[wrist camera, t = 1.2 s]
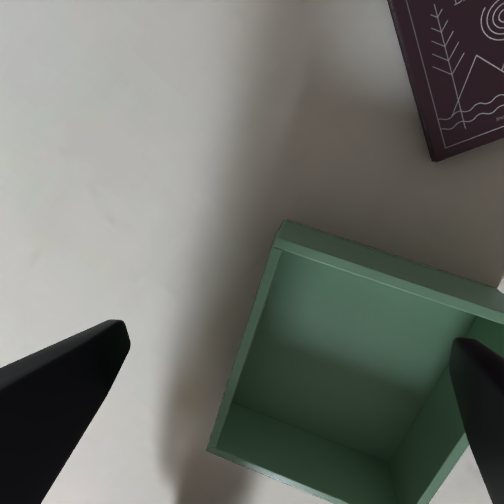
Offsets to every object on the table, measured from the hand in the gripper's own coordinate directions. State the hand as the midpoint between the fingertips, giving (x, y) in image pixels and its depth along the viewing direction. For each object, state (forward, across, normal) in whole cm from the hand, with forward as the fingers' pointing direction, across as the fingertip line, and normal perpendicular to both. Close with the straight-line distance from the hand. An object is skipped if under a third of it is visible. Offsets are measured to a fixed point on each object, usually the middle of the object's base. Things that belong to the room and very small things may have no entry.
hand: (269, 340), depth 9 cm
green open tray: (+13, -2, +11) cm, 17 cm away
